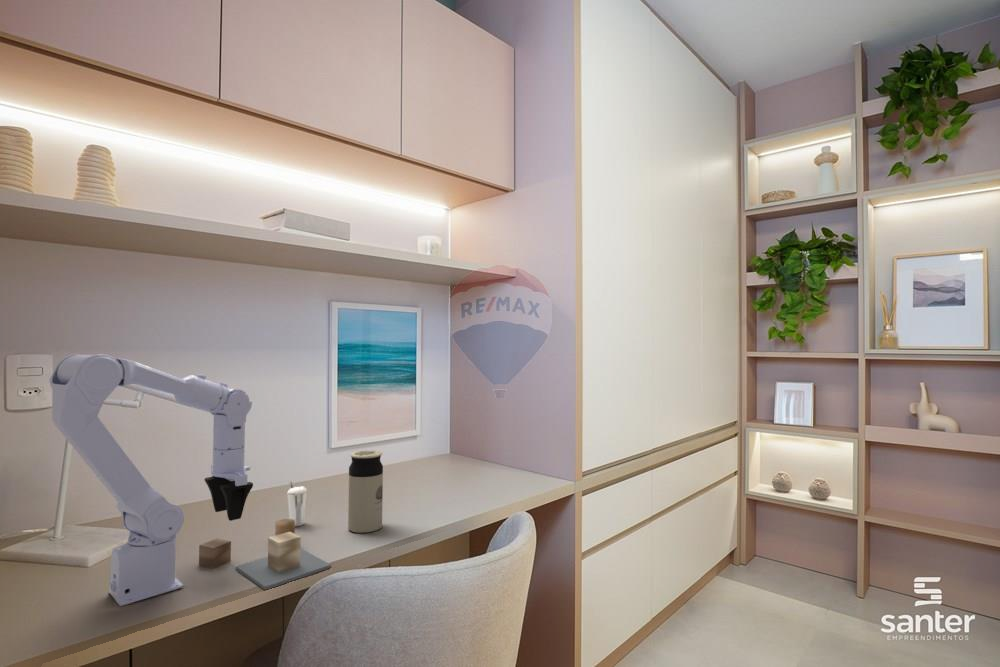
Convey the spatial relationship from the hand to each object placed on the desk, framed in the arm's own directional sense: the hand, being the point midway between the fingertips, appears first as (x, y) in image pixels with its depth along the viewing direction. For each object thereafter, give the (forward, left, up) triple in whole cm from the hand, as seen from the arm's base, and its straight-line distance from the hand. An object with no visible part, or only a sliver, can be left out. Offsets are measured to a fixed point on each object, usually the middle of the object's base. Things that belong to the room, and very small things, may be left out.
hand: (227, 514), depth 105 cm
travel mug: (+30, -4, -10) cm, 32 cm away
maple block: (+6, -12, -9) cm, 16 cm away
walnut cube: (-2, +1, -10) cm, 10 cm away
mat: (+6, -12, -9) cm, 16 cm away
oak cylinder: (+12, 0, -10) cm, 16 cm away
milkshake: (+20, +11, -10) cm, 25 cm away
